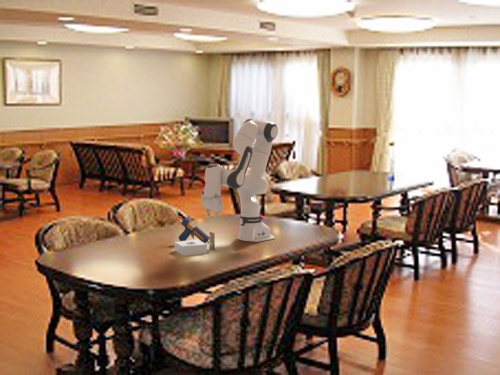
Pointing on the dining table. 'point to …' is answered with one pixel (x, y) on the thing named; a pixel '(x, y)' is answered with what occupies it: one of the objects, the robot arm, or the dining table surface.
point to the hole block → (190, 247)
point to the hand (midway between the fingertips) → (212, 217)
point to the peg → (211, 240)
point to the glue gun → (192, 231)
